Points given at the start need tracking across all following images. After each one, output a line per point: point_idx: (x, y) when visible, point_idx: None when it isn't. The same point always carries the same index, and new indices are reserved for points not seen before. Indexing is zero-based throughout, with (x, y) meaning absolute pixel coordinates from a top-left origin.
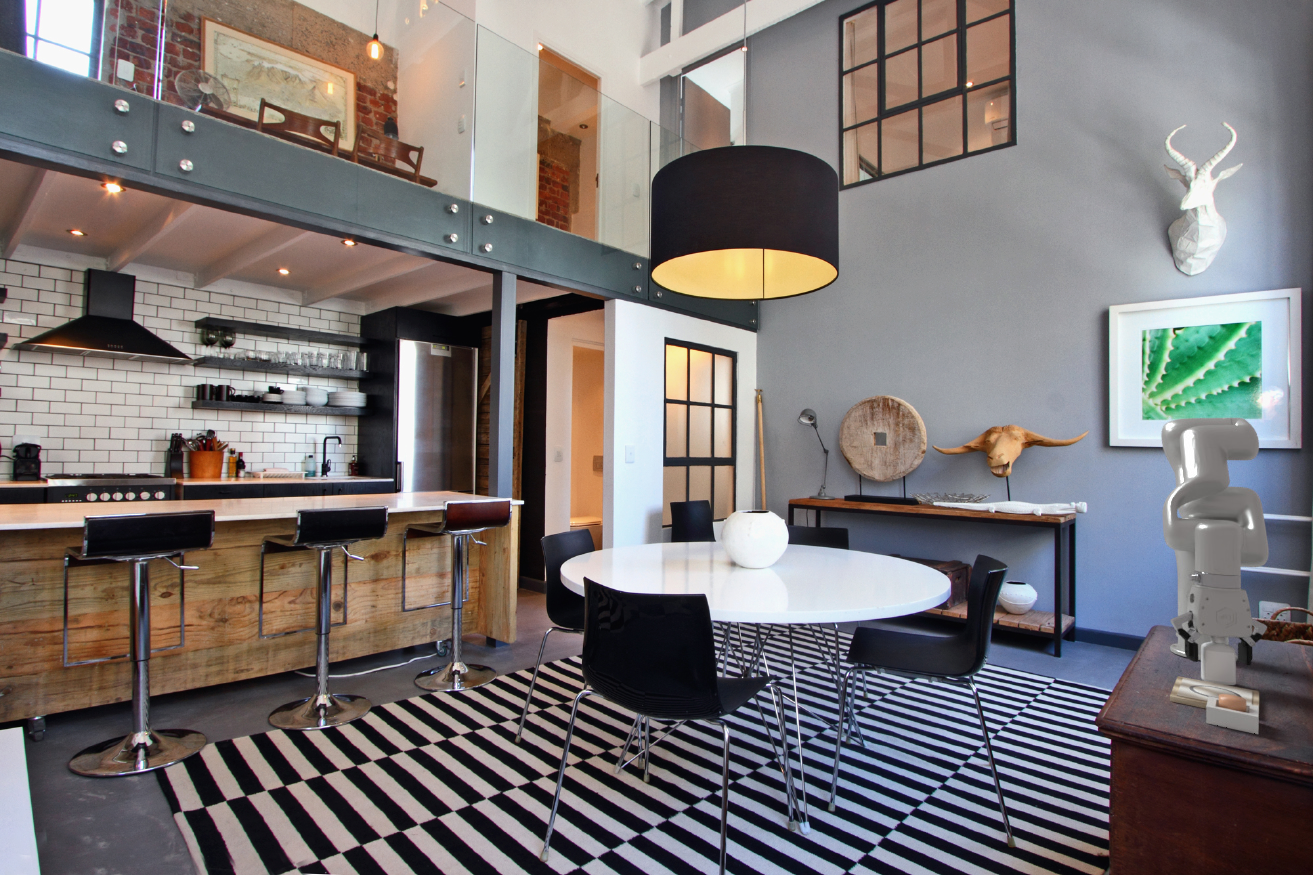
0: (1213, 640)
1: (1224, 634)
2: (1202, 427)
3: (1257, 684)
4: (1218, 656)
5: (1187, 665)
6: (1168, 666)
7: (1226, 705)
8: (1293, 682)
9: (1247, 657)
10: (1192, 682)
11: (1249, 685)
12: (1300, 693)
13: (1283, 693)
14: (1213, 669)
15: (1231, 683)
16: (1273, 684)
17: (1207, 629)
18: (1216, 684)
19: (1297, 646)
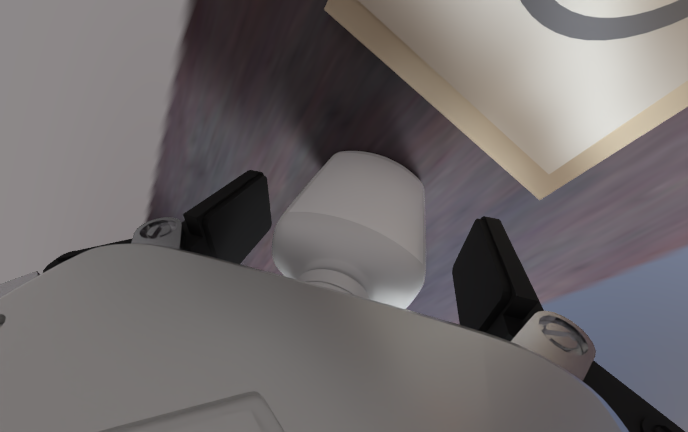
0: None
1: (322, 300)
2: None
3: (262, 168)
4: (376, 213)
5: None
6: (414, 302)
7: None
8: (170, 188)
9: (243, 188)
10: (589, 98)
11: (290, 157)
12: (176, 88)
13: (224, 79)
14: (401, 189)
15: (350, 152)
16: (219, 170)
17: (532, 426)
18: (471, 81)
19: None
